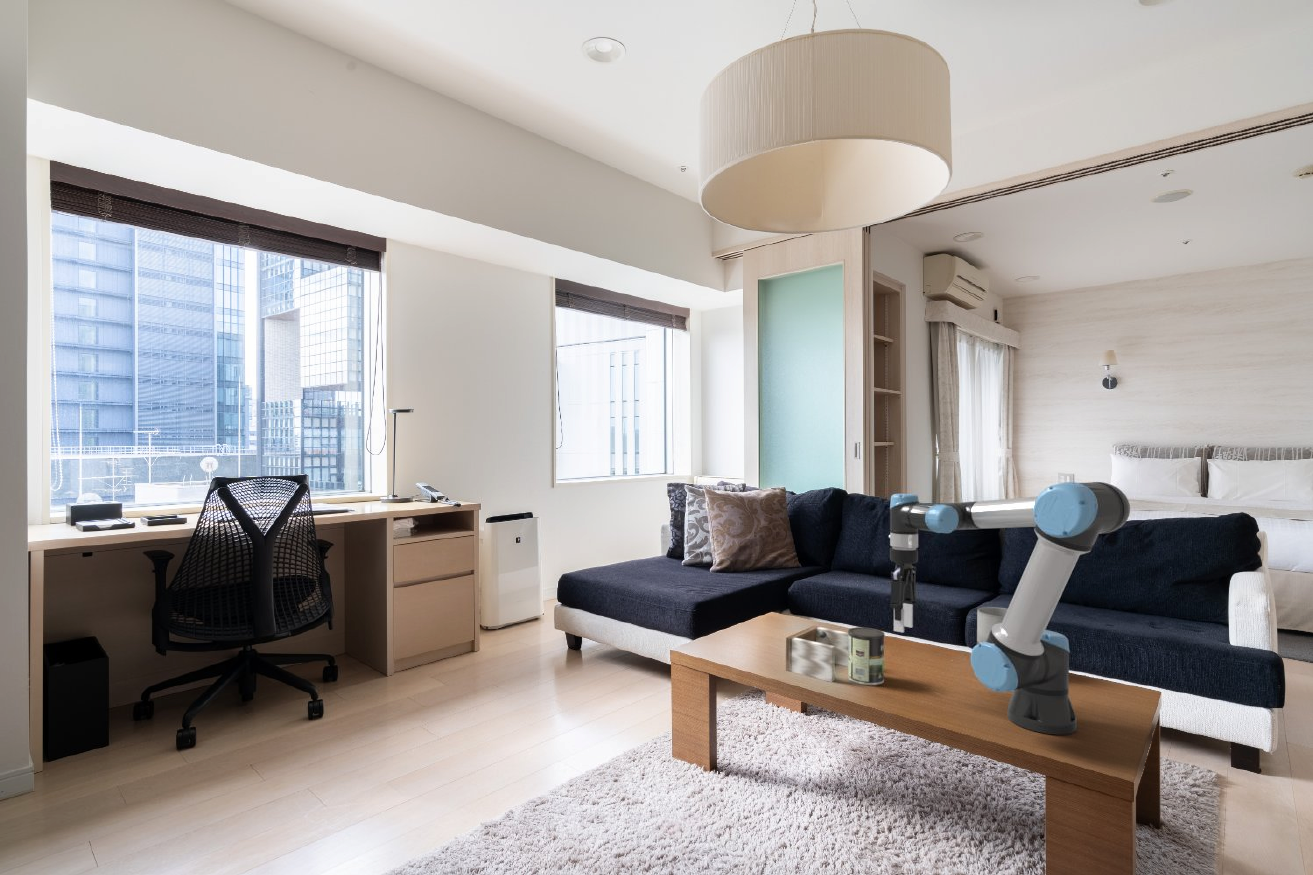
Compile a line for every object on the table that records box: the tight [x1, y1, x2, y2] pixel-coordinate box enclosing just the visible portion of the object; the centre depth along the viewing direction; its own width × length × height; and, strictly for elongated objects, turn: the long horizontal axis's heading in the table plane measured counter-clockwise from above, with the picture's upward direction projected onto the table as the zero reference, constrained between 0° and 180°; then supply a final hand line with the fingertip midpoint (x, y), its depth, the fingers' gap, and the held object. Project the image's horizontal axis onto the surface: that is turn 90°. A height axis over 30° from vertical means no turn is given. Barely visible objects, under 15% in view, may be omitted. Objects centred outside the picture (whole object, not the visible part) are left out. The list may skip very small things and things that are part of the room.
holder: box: [785, 625, 849, 683], centre depth 207 cm, size 15×18×10 cm
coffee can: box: [847, 626, 885, 686], centre depth 198 cm, size 10×10×14 cm
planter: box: [976, 606, 1008, 645], centre depth 209 cm, size 13×13×18 cm
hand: (903, 628), depth 191 cm, fingers open, 6 cm apart
